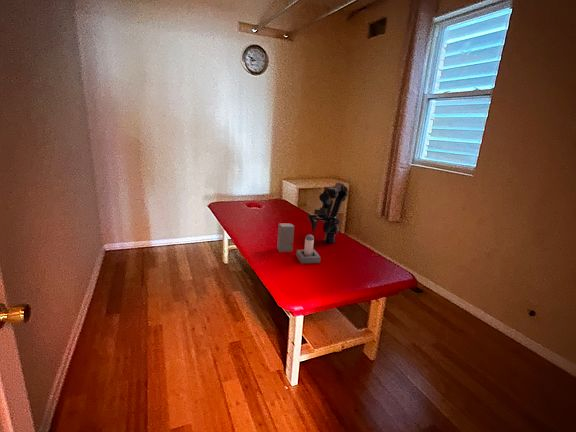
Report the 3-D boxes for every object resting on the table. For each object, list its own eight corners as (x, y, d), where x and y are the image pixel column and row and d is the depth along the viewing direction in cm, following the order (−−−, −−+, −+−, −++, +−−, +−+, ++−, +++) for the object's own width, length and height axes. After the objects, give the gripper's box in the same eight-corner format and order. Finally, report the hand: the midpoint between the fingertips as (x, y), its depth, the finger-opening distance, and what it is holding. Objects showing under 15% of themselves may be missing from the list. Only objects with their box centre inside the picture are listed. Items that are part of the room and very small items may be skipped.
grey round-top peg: (304, 254, 180) (306, 232, 176) (312, 255, 179) (314, 233, 175) (303, 257, 175) (305, 235, 171) (311, 259, 175) (313, 236, 170)
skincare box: (279, 252, 183) (280, 227, 179) (276, 247, 190) (277, 222, 185) (293, 251, 186) (295, 226, 181) (290, 247, 192) (291, 222, 188)
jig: (296, 255, 182) (296, 249, 181) (314, 254, 184) (314, 249, 183) (300, 263, 171) (301, 258, 170) (320, 262, 174) (320, 257, 173)
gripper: (306, 202, 185) (299, 226, 181) (334, 203, 174) (326, 229, 170) (315, 209, 194) (309, 233, 190) (342, 211, 182) (336, 236, 178)
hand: (319, 233), depth 181 cm, fingers open, 9 cm apart
